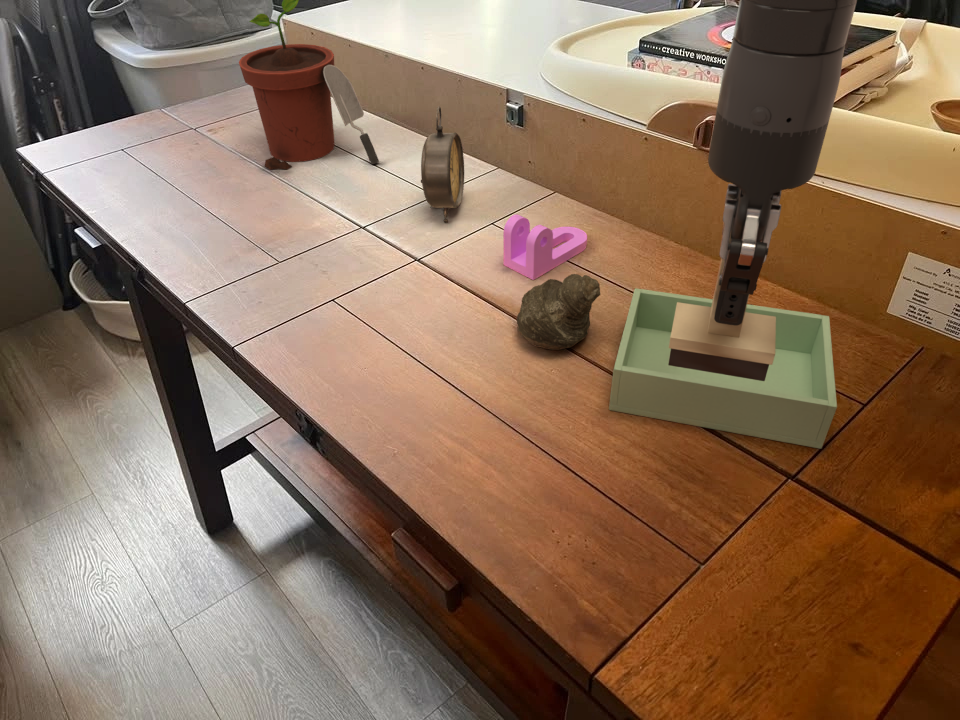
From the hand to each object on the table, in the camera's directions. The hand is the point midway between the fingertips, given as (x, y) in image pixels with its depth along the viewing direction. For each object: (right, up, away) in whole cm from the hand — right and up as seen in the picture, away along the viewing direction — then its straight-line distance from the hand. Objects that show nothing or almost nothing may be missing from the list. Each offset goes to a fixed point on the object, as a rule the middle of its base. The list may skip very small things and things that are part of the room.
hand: (728, 310), depth 64 cm
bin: (+6, -7, +22) cm, 23 cm away
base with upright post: (0, -4, +3) cm, 5 cm away
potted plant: (-51, +33, +72) cm, 94 cm away
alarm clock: (-26, +19, +55) cm, 64 cm away
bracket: (-11, +11, +44) cm, 46 cm away
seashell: (-13, 0, +30) cm, 33 cm away
